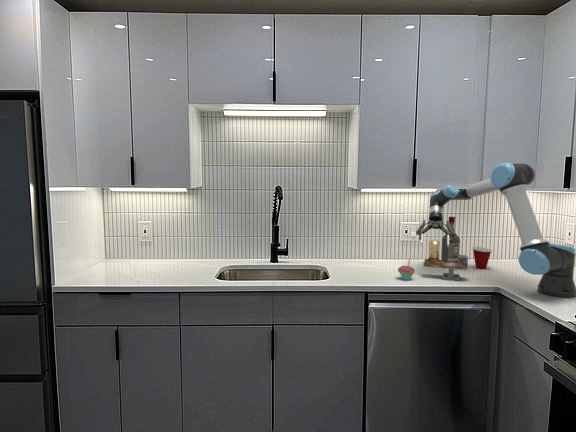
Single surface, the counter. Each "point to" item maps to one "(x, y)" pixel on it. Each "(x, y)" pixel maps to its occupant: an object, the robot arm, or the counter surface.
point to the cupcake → (406, 271)
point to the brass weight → (434, 251)
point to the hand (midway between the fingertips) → (434, 245)
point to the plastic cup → (481, 256)
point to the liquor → (450, 245)
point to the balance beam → (461, 263)
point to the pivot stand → (451, 274)
